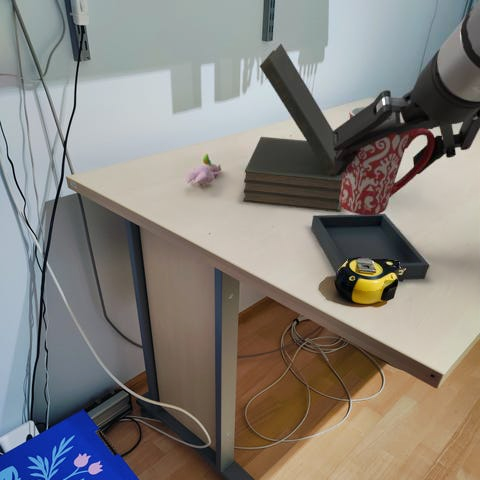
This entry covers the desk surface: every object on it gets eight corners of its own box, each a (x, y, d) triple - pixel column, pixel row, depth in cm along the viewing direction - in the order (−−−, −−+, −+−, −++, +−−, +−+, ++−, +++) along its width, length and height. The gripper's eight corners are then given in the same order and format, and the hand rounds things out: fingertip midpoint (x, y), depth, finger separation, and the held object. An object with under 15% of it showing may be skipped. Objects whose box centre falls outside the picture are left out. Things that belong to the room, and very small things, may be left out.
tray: (381, 226, 79) (384, 213, 78) (424, 279, 66) (429, 264, 64) (311, 228, 78) (313, 215, 76) (340, 283, 64) (343, 268, 62)
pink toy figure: (202, 175, 99) (176, 189, 86) (202, 148, 96) (177, 158, 83) (227, 179, 98) (205, 193, 85) (229, 152, 95) (206, 162, 82)
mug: (334, 215, 63) (352, 119, 55) (331, 192, 70) (347, 103, 62) (420, 222, 63) (452, 126, 54) (408, 198, 70) (435, 109, 61)
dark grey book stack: (340, 212, 83) (369, 66, 67) (242, 201, 86) (248, 58, 70) (340, 171, 101) (363, 47, 85) (259, 163, 103) (266, 41, 87)
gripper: (358, 104, 42) (302, 191, 63) (578, 106, 45) (453, 188, 66) (351, 34, 42) (298, 143, 64) (568, 40, 45) (447, 142, 67)
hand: (376, 166), depth 65 cm, fingers closed on mug, 12 cm apart
